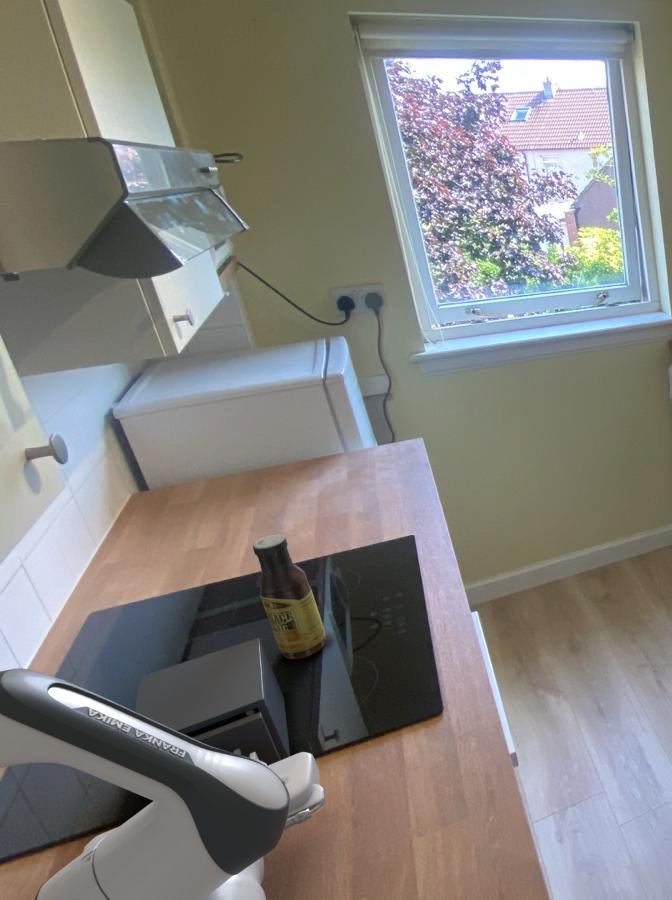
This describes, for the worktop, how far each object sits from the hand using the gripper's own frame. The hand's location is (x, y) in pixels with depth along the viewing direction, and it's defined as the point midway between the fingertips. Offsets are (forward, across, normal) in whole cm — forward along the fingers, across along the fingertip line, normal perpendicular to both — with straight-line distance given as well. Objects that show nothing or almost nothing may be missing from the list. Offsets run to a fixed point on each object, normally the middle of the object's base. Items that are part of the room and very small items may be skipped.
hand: (211, 774), depth 85 cm
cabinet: (+12, 0, +6) cm, 14 cm away
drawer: (+7, 0, +6) cm, 9 cm away
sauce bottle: (+30, -10, +7) cm, 32 cm away
